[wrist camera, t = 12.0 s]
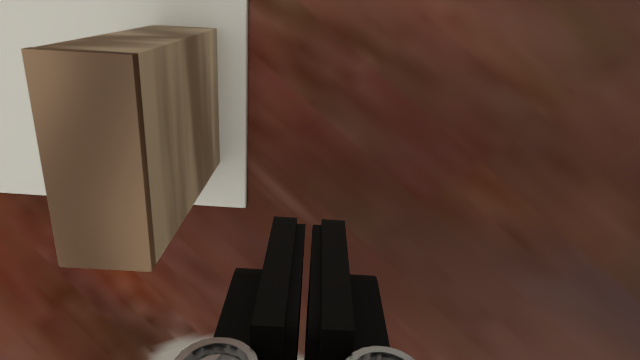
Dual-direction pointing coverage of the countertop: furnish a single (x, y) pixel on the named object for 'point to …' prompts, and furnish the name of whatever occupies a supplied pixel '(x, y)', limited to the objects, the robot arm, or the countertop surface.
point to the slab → (124, 139)
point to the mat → (106, 17)
